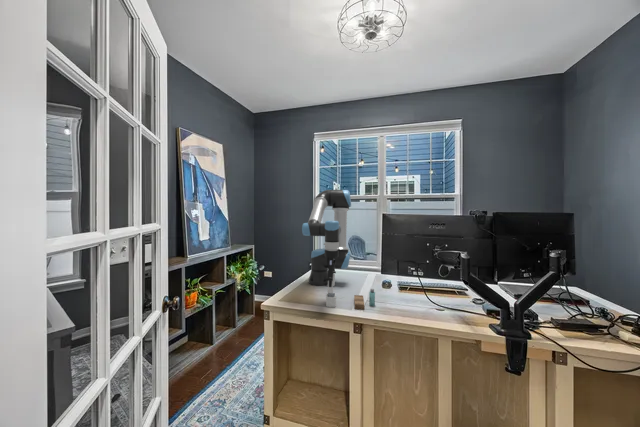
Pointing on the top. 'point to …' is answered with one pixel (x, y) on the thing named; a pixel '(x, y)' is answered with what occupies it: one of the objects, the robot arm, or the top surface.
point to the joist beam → (359, 302)
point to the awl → (372, 297)
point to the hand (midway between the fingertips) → (331, 289)
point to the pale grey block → (331, 300)
